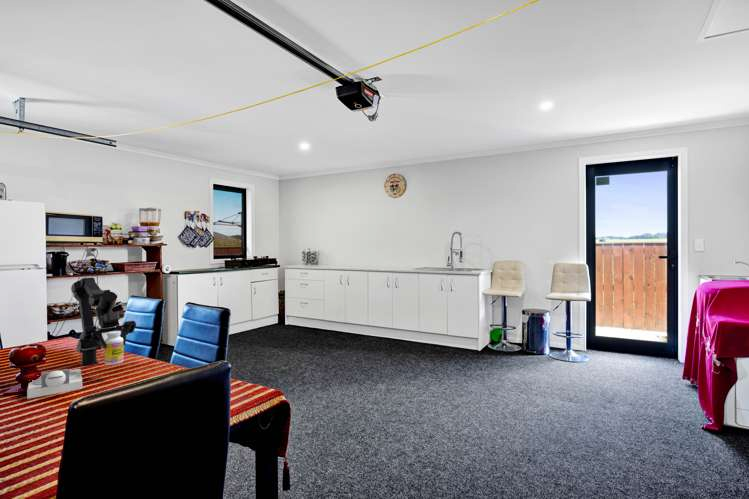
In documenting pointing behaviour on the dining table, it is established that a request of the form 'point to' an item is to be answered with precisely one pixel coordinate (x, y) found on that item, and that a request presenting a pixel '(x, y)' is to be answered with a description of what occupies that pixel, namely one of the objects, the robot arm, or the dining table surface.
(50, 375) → the kitchen scale
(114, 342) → the supplement bottle
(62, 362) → the dining table surface
